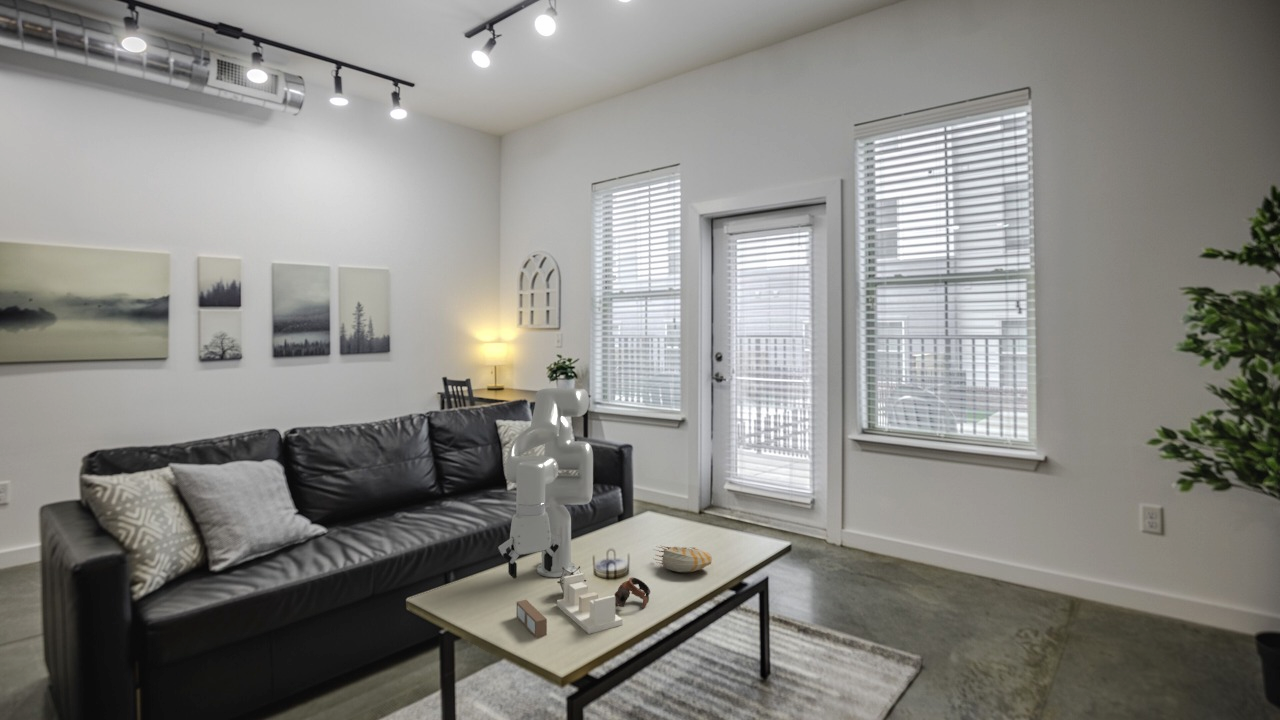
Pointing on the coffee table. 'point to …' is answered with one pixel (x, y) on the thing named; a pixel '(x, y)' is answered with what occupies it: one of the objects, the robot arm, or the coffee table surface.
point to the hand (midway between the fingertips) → (530, 573)
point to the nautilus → (684, 559)
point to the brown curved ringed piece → (629, 586)
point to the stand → (587, 606)
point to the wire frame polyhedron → (567, 573)
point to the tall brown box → (531, 618)
